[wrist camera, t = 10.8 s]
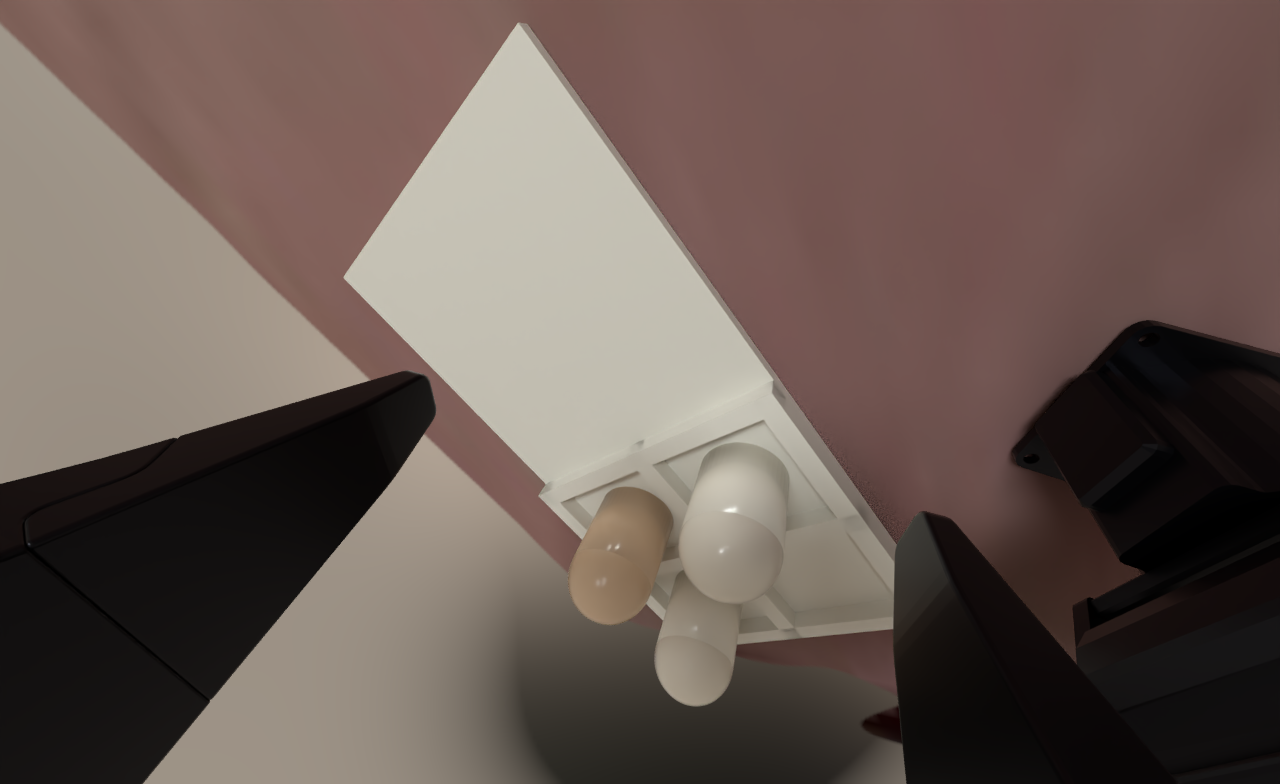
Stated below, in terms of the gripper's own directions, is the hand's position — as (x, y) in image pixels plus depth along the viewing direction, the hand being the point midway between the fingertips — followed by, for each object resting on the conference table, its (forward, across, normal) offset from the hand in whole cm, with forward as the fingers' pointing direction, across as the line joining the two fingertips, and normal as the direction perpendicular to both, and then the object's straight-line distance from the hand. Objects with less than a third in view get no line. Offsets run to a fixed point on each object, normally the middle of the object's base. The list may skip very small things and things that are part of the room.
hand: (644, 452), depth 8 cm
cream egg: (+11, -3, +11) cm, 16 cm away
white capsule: (+11, -2, +21) cm, 24 cm away
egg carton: (+12, +3, +11) cm, 16 cm away
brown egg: (+11, +3, +16) cm, 20 cm away
